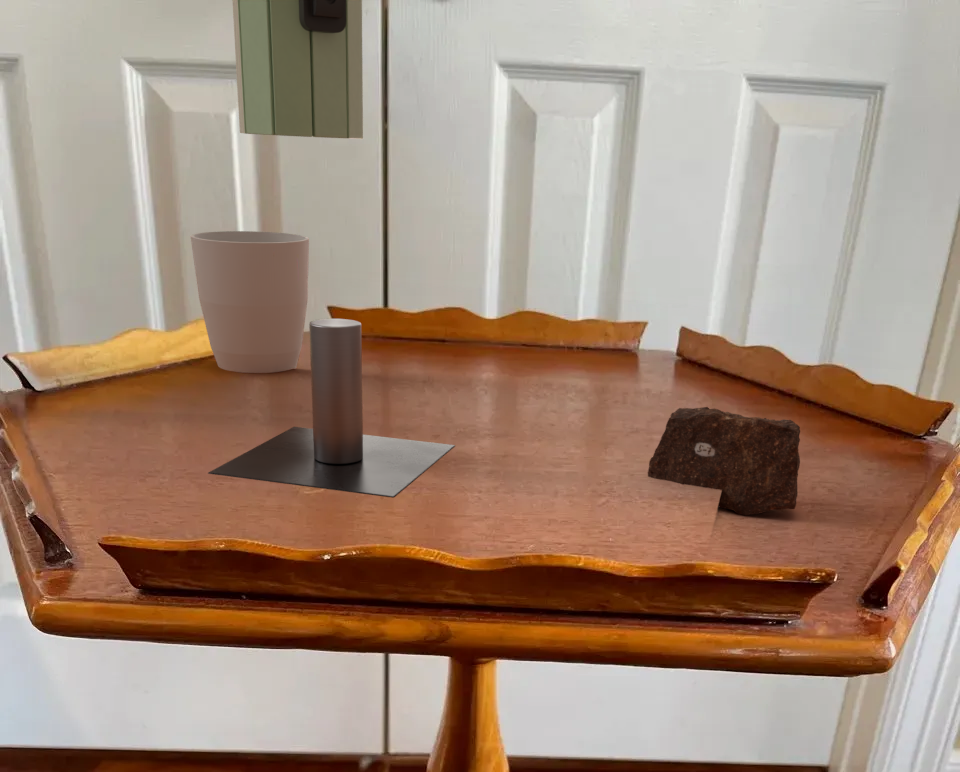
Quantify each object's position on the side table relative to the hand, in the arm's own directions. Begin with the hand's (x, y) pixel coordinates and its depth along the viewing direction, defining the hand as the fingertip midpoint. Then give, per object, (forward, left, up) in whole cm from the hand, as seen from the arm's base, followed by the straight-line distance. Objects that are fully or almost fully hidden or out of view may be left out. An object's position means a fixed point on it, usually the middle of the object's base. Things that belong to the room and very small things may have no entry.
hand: (298, 34), depth 54 cm
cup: (-10, +12, -22) cm, 27 cm away
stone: (+25, -4, -22) cm, 33 cm away
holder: (+5, -8, -21) cm, 23 cm away
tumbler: (0, 0, -5) cm, 5 cm away
